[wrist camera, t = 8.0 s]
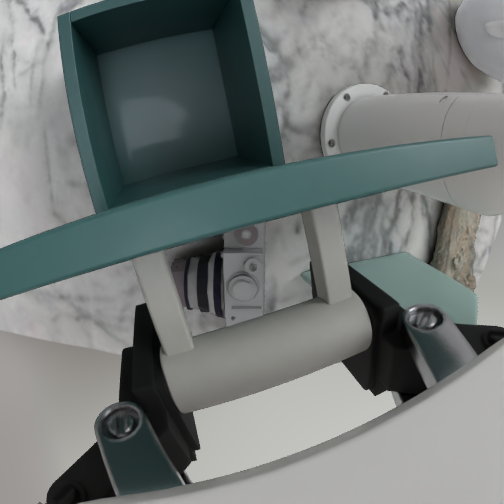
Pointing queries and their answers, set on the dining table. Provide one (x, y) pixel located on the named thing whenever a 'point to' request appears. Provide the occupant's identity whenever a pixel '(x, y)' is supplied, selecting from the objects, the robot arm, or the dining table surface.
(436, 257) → the elongated rock
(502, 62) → the pitcher
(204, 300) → the camera
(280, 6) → the dining table surface
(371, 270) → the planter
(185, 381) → the cooler lid
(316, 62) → the dining table surface
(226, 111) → the box
